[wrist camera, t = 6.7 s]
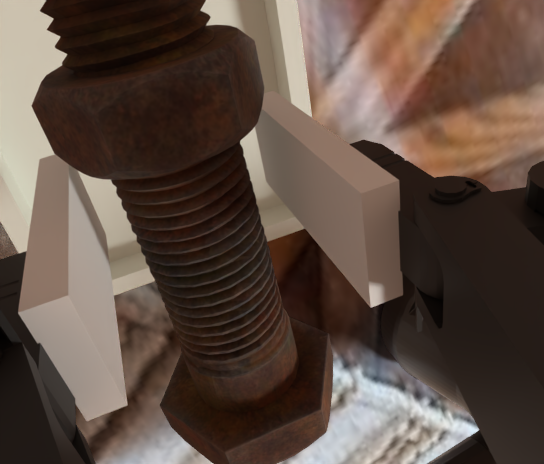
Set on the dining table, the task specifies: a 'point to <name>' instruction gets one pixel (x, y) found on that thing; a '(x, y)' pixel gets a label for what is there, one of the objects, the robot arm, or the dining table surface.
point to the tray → (120, 239)
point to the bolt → (191, 213)
